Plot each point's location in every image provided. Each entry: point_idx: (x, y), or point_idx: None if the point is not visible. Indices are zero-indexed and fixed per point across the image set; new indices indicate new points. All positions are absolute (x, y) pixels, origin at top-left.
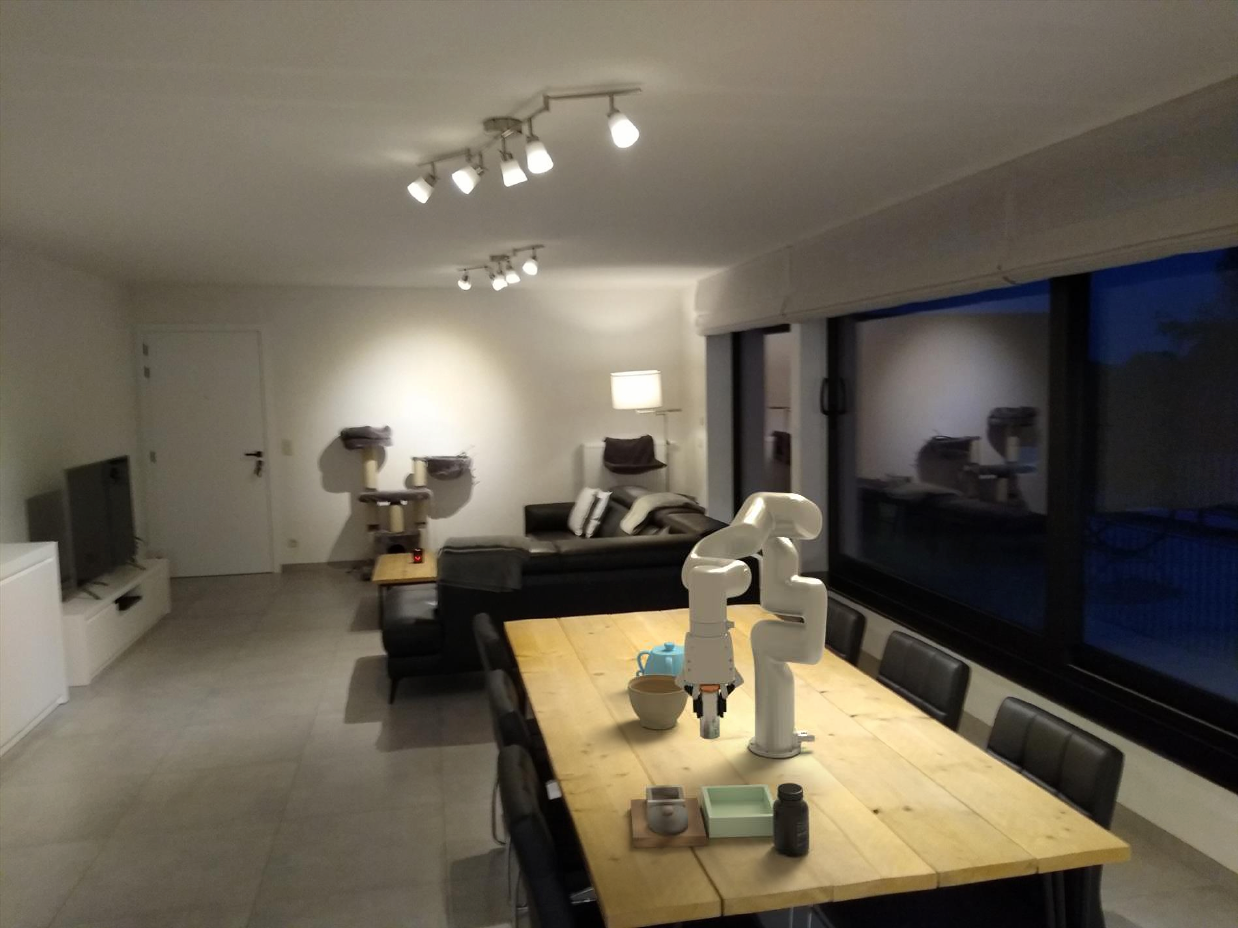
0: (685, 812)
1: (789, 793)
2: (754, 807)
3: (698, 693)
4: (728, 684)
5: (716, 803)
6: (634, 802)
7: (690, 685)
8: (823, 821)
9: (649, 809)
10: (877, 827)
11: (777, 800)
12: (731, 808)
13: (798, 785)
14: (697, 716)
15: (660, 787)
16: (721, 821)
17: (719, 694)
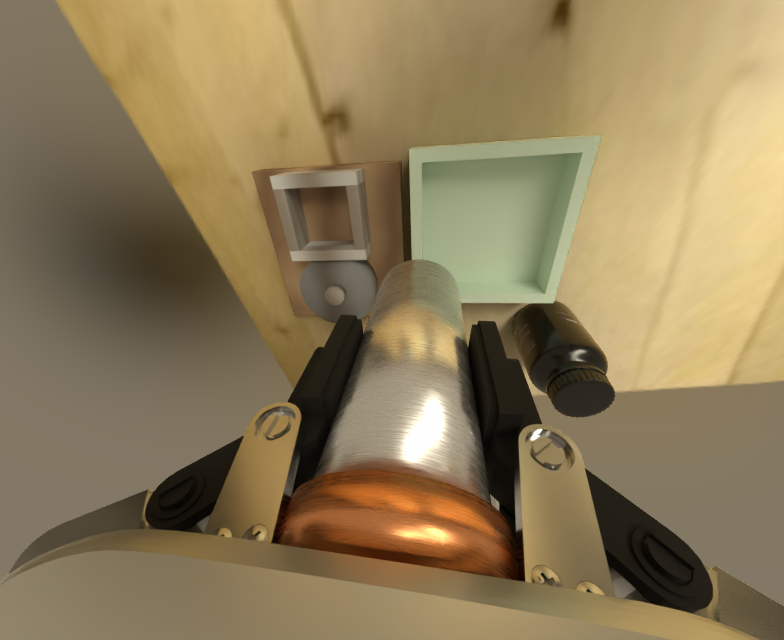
0: (369, 291)
1: (568, 415)
2: (528, 191)
3: (317, 448)
4: (621, 574)
5: (444, 168)
6: (264, 187)
7: (215, 503)
8: (658, 237)
9: (301, 277)
10: (759, 265)
11: (545, 372)
12: (473, 196)
13: (610, 392)
14: None
15: (305, 187)
16: None
17: (498, 419)
